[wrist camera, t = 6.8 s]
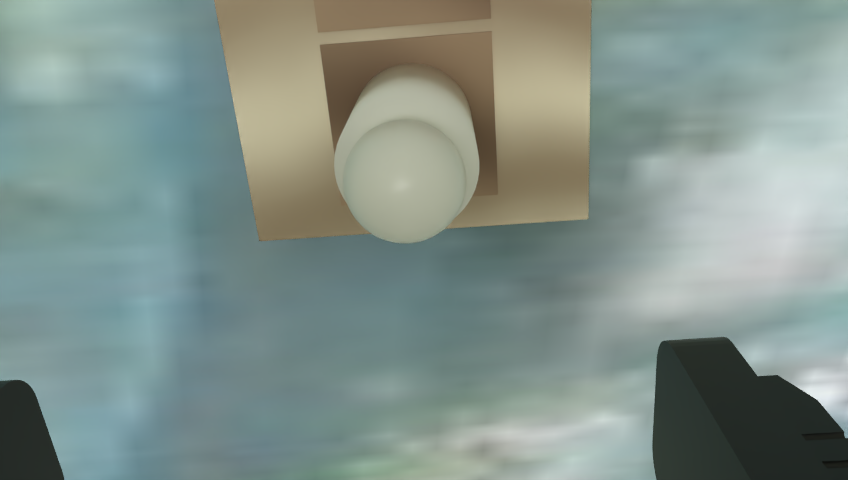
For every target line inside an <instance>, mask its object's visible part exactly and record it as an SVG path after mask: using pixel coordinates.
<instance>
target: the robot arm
mask: <svg viewBox="0 0 848 480" xmlns="http://www.w3.org/2000/svg"><path fill="white" fill-rule="evenodd" d="M653 461H654V468H655V474H656V479H657V480H848V438H845V436H844V431H843V430H842V429H841V428H840V426H839V425H838V424H837V423H836V422H835V420H834V419H833V418H832V417H831V416H830V415H829V413H828V412H827V411H826V410H825V409H824V407H823V406H822V405H821V404H820V403H819V402H818V400H816V399H815V398H813V397H811V396H810V395H808V394H807V393H805V392H803V391H802V390H800V389H799V388H797V387H795V386H794V385H792V384H791V383H789V382H787V381H786V380H784V379H783V378H781V377H779V376H778V375H773V376H757V375H756V374H755V372H754V371H753V370H752V368H751V367H750V366H749V364H748V363H747V362H746V360H745V359H744V358H743V356H742V355H741V354H740V352H739V351H738V350H737V348H736V347H735V346H734V344H733V343H732V342H731V341H730V340H729V339H728V338H726V337H714V338H699V339H683V340H667V341H662V342H661V344H660V346H659V349H658V354H657V368H656V386H655V405H654V424H653ZM0 480H64V476H63V472H62V469H61V466H60V464H59V461H58V458H57V455H56V452H55V449H54V446H53V443H52V441H51V438H50V435H49V432H48V429H47V426H46V423H45V420H44V418H43V415H42V412H41V409H40V406H39V403H38V400H37V397H36V395H35V393H34V391H33V389H32V388H31V387H30V386H29V385H28V384H27V383H26V382H24V381H21V380H8V381H0Z"/></svg>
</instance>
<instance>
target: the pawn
mask: <svg viewBox="0 0 848 480" xmlns="http://www.w3.org/2000/svg"><path fill="white" fill-rule="evenodd" d="M334 171H335V177H336V182H337V185H338V188H339V190H340V192H341V194H342V196H343V198H344V200H345V201H346V203H347V205H348V207H349V209H350V211H351V213H352V214H353V216H354V217H355V219H356V220H357V221H358V222H359V223H360V225H361V226H362V227H364V228H365V229H366V230H367V231H368V232H370V233H371V234H373V235H374V236H376V237H378V238H380V239H383V240H386V241H390V242H394V243H416V242H420V241H424V240H426V239H429V238H431V237H433V236H435V235H437V234H438V233H440V232H441V231H442V230H444V229H445V228H446V227H447V226H448V225H449V224H450V223H451V222H452V221H453V220H454V218H455V217H456V216H458V215H459V214H460V213H461V212H462V210H463V209H464V208H465V207H466V206H467V204H468V203H469V201H470V199H471V198H472V196H473V193H474V191H475V189H476V185H477V182H478V177H479V155H478V149H477V144H476V138H475V133H474V127H473V122H472V117H471V111H470V107H469V104H468V101H467V99H466V96H465V95H464V93H463V91H462V89H461V88H460V87H459V86H458V84H457V83H456V82H455V81H454V80H453V79H452V78H451V77H449V76H448V75H447V74H445V73H444V72H442V71H440V70H439V69H436V68H434V67H431V66H428V65H424V64H417V63H407V64H400V65H396V66H393V67H390V68H388V69H386V70H384V71H382V72H380V73H379V74H377V75H376V76H375V77H374V78H372V79H371V80H370V81H369V83H368V84H367V85H366V86H365V87H364V89H363V90H362V92H361V94H360V96H359V98H358V100H357V102H356V104H355V106H354V108H353V110H352V112H351V114H350V117H349V119H348V121H347V123H346V125H345V127H344V129H343V131H342V133H341V135H340V138H339V140H338V143H337V146H336V151H335V157H334Z"/></svg>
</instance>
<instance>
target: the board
mask: <svg viewBox="0 0 848 480" xmlns="http://www.w3.org/2000/svg"><path fill="white" fill-rule="evenodd" d="M214 2H215V7H216V12H217V18H218V23H219V28H220V34H221V39H222V44H223V50H224V55H225V60H226V66H227V71H228V76H229V82H230V87H231V92H232V98H233V103H234V108H235V114H236V119H237V124H238V130H239V135H240V140H241V146H242V151H243V156H244V162H245V167H246V172H247V178H248V183H249V188H250V194H251V199H252V204H253V210H254V215H255V220H256V226H257V231H258V236H259V241H269V240H284V239H299V238H313V237H328V236H343V235H358V234H371V233H370V232H368V231H367V230H366V229H365V228H364V227H362V226H361V225H360V223H359V222H358V221H357V220H356V219H355V217H354V216H353V214H352V213H351V211H350V209H349V207H348V205H347V203H346V201H345V200H344V198H343V196H342V194H341V192H340V190H339V188H338V185H337V182H336V177H335V171H334V157H335V151H336V146H337V143H338V140H339V138H340V135H341V133H342V131H343V129H344V127H345V125H346V123H347V121H348V119H349V117H350V114H351V112H352V110H353V108H354V106H355V104H356V102H357V100H358V98H359V96H360V94H361V92H362V90H363V89H364V87H365V86H366V85H367V84H368V83H369V81H370V80H371V79H372V78H374V77H375V76H376V75H377V74H379V73H380V72H382V71H384V70H386V69H388V68H390V67H393V66H396V65H400V64H407V63H417V64H424V65H428V66H431V67H434V68H436V69H439V70H440V71H442V72H444V73H445V74H447V75H448V76H449V77H451V78H452V79H453V80H454V81H455V82H456V83H457V84H458V86H459V87H460V88H461V89H462V91H463V93H464V95H465V96H466V99H467V101H468V104H469V107H470V111H471V117H472V122H473V127H474V133H475V138H476V144H477V149H478V155H479V177H478V182H477V185H476V189H475V191H474V193H473V196H472V198H471V199H470V201H469V203H468V204H467V206H466V207H465V208H464V209H463V210H462V212H461V213H460V214H459V215H458V216H456V217H455V218H454V220H453V221H452V222H451V223H450V224H449V225H448V226H447V227H446V228H445V229H448V228H463V227H478V226H493V225H508V224H523V223H538V222H553V221H568V220H583V219H588V208H589V135H590V62H591V0H214Z"/></svg>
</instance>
